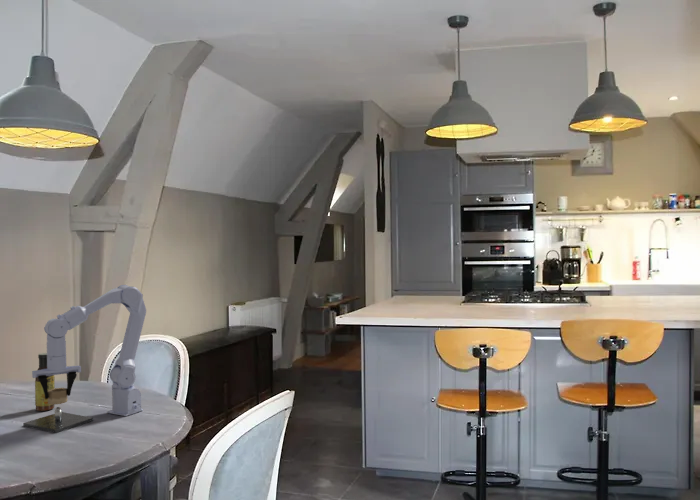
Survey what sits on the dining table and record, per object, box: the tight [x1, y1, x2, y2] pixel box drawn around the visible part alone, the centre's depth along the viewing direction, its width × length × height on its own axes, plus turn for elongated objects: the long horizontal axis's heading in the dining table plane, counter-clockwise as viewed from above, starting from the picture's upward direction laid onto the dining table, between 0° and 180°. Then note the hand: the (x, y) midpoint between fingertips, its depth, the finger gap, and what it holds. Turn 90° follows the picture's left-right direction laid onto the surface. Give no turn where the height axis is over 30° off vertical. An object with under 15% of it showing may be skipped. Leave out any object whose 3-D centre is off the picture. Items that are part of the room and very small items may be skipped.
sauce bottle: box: [34, 352, 56, 412], centre depth 224 cm, size 6×6×20 cm
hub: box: [22, 406, 94, 434], centre depth 207 cm, size 16×14×5 cm
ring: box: [48, 387, 69, 406], centre depth 207 cm, size 6×6×4 cm
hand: (57, 396), depth 207 cm, fingers closed on ring, 6 cm apart
